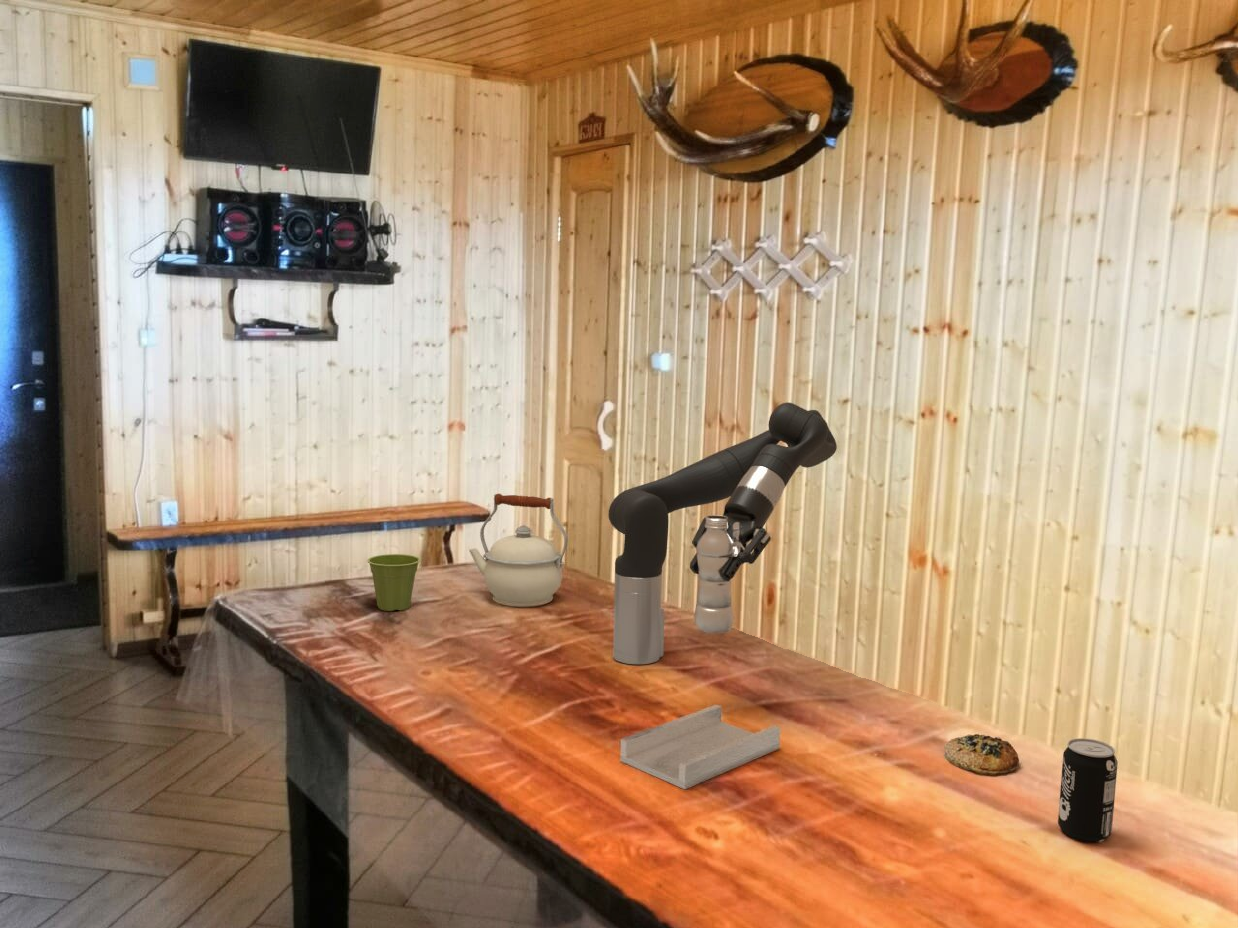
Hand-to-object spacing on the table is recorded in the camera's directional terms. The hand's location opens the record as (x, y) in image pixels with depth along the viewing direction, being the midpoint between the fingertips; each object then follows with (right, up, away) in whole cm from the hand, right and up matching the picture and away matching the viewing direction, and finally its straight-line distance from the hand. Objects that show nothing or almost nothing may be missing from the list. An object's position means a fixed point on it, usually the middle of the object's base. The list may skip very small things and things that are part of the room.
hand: (708, 574), depth 181 cm
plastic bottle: (+1, -10, +3) cm, 11 cm away
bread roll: (+41, -28, -15) cm, 51 cm away
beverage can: (+47, -31, -38) cm, 68 cm away
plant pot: (-66, -14, +64) cm, 93 cm away
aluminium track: (-2, -26, -15) cm, 30 cm away
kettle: (-39, -13, +73) cm, 84 cm away
